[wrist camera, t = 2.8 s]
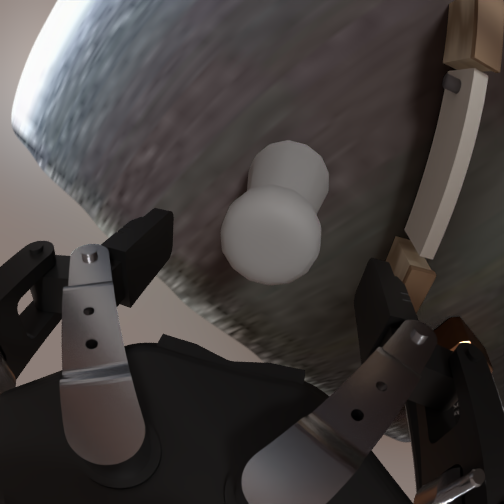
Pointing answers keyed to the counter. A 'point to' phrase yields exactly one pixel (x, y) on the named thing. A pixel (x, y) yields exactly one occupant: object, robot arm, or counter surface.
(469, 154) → the grey flat bar
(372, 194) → the counter surface
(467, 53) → the tan bar
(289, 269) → the salt shaker
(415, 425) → the whiskey bottle
